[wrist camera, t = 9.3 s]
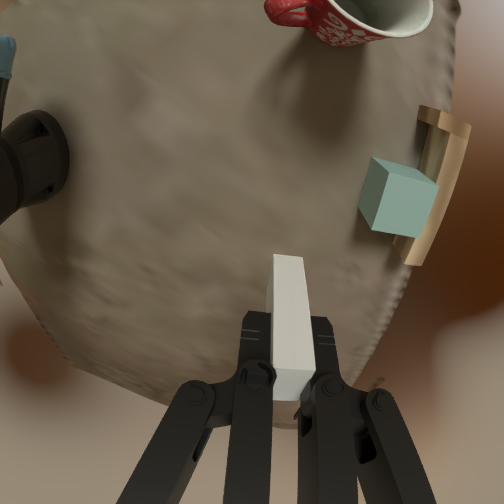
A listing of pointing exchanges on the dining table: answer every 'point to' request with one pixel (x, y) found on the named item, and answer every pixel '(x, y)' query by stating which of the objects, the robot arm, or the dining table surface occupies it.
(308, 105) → the dining table surface
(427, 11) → the mug
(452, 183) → the stop board
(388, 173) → the block
